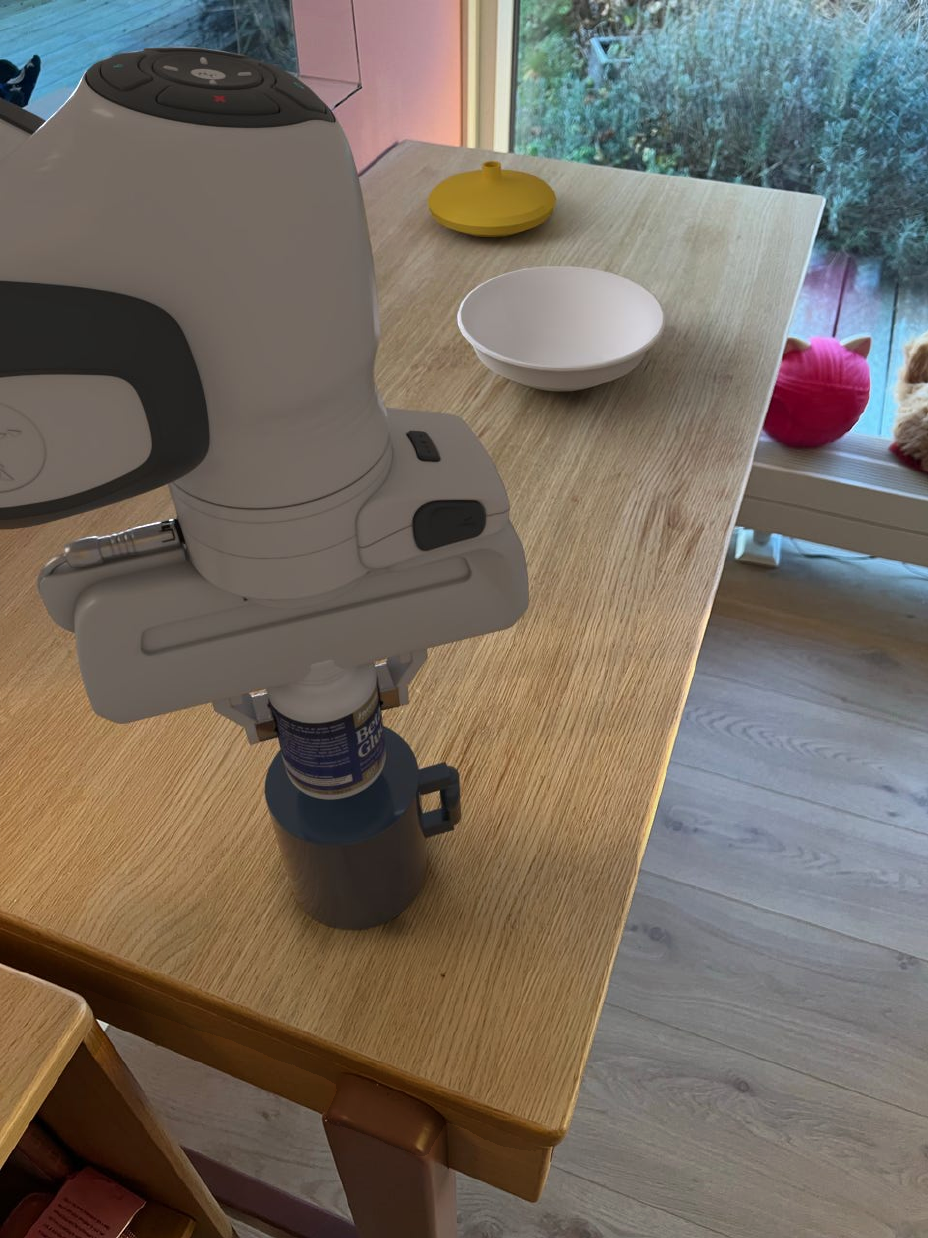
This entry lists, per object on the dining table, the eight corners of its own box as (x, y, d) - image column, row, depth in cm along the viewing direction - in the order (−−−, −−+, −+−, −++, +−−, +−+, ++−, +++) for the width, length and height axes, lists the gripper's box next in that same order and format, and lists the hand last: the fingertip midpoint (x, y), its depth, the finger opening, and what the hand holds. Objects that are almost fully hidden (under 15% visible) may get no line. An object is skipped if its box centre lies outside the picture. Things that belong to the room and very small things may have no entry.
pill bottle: (383, 803, 51) (365, 676, 44) (279, 803, 51) (245, 677, 45) (390, 721, 55) (375, 592, 48) (293, 721, 55) (264, 593, 48)
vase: (571, 242, 120) (574, 182, 115) (442, 258, 118) (439, 198, 113) (536, 190, 131) (538, 134, 126) (418, 204, 129) (414, 147, 124)
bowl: (558, 455, 90) (561, 393, 85) (418, 369, 101) (414, 311, 96) (701, 373, 99) (710, 314, 94) (558, 303, 109) (560, 246, 105)
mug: (304, 948, 57) (279, 865, 51) (277, 829, 63) (252, 740, 56) (483, 894, 59) (481, 807, 53) (442, 783, 65) (435, 692, 59)
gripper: (22, 607, 37) (123, 821, 46) (546, 491, 41) (537, 710, 50) (21, 505, 41) (114, 720, 51) (496, 409, 45) (496, 626, 55)
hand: (328, 714), depth 51 cm, fingers closed on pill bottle, 5 cm apart
